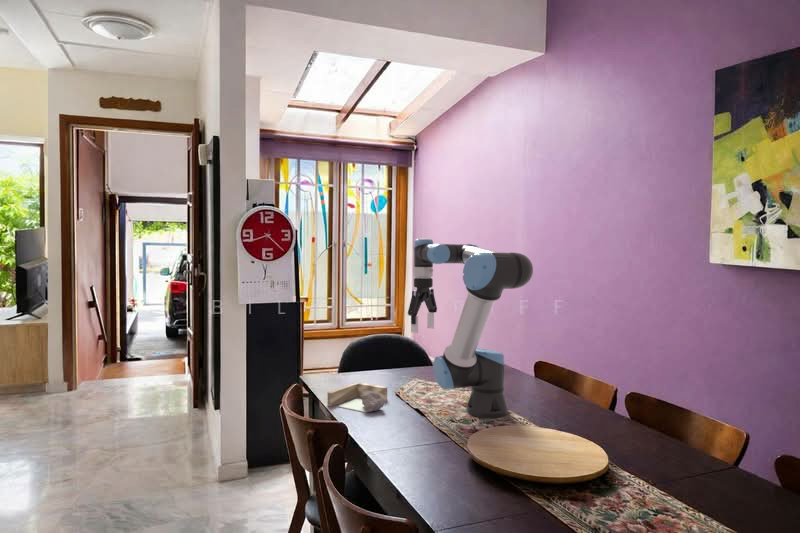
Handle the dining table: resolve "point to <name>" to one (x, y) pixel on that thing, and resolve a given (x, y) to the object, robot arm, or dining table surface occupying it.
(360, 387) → the arena
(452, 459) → the dining table surface
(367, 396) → the stone
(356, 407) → the pad
